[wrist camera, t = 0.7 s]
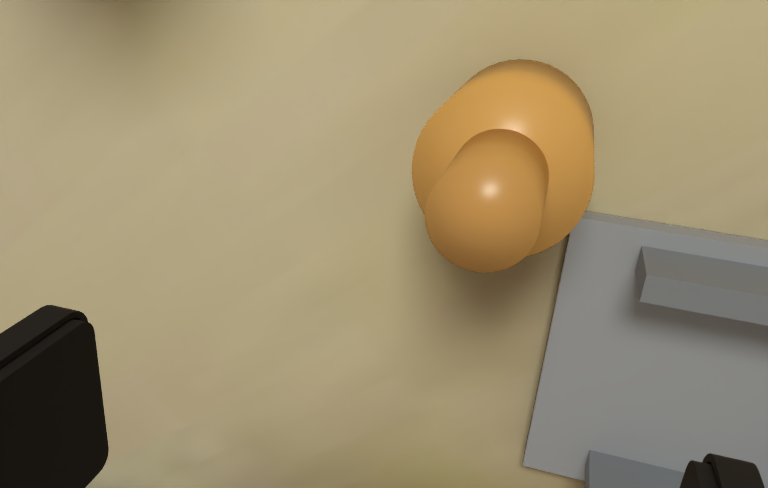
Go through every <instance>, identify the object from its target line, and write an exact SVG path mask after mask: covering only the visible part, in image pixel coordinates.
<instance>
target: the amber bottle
mask: <svg viewBox="0 0 768 488" xmlns="http://www.w3.org/2000/svg"><path fill="white" fill-rule="evenodd" d="M412 180H413V187H414V191H415V195H416V198H417V200H418V203H419V206H420V208H421V209H422V211H423V213H424V215H425V225H426V229H427V232H428V235H429V238H430V239H431V241H432V243H433V245H434V246H435V248H436V249H437V250H438V251H439V252H440V254H441V255H442V256H444V257H445V258H446V259H447V260H449V261H450V262H451V263H453V264H455V265H457V266H459V267H461V268H463V269H466V270H470V271H474V272H496V271H500V270H504V269H507V268H509V267H511V266H513V265H515V264H517V263H518V262H519V261H521V260H522V259H523V258H524V257H527V256H531V255H534V254H537V253H539V252H542V251H544V250H546V249H548V248H550V247H552V246H553V245H555V244H556V243H558V242H559V241H561V240H562V239H563V238H564V237H565V236H567V235H568V234H569V233H570V232H571V231H572V230H573V228H574V227H575V226H576V225H577V224H578V222H579V221H580V219H581V218H582V216H583V214H584V213H585V211H586V208H587V206H588V204H589V202H590V198H591V195H592V191H593V185H594V125H593V118H592V113H591V110H590V107H589V104H588V102H587V100H586V98H585V96H584V94H583V93H582V91H581V90H580V88H579V87H578V86H577V85H576V84H575V82H574V81H573V80H572V79H570V78H569V77H568V76H567V75H566V74H564V73H563V72H561V71H560V70H558V69H556V68H554V67H552V66H550V65H548V64H545V63H542V62H538V61H533V60H521V59H518V60H508V61H504V62H499V63H497V64H494V65H491V66H489V67H487V68H485V69H483V70H481V71H480V72H478V73H477V74H475V75H474V76H473V77H472V78H471V79H470V80H468V81H467V82H466V83H465V84H464V85H463V86H462V87H461V88H460V89H459V90H458V91H457V92H456V93H455V94H454V95H453V96H452V97H451V98H450V99H449V100H448V101H447V102H446V103H444V104H443V105H442V106H441V107H440V108H439V109H438V110H437V111H436V112H435V113H434V115H433V116H432V117H431V118H430V119H429V121H428V122H427V124H426V125H425V127H424V128H423V130H422V132H421V134H420V136H419V138H418V140H417V143H416V147H415V150H414V155H413V161H412Z"/></svg>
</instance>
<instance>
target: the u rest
mask: <svg viewBox="0 0 768 488" xmlns="http://www.w3.org/2000/svg"><path fill="white" fill-rule="evenodd" d="M709 453H712V454H716V455H720V456H725V457H729V458H734V459H738V460H743V461H747V462H752V463H754V464H755V465H756V466H757V468H758V470H759V473H760V476H761V478H762V481H763V484H764V487H765V488H768V240H761V239H755V238H749V237H743V236H737V235H730V234H724V233H718V232H712V231H706V230H700V229H693V228H687V227H681V226H675V225H669V224H663V223H656V222H650V221H644V220H638V219H632V218H625V217H619V216H613V215H607V214H601V213H595V212H588V211H585V213H584V214H583V216H582V218H581V219H580V221H579V222H578V224H577V225H576V226H575V227H574V228H573V230H572V231H571V232H570V233H569V237H568V242H567V247H566V252H565V257H564V262H563V267H562V271H561V276H560V281H559V286H558V291H557V296H556V301H555V306H554V311H553V316H552V320H551V325H550V330H549V335H548V340H547V345H546V350H545V355H544V360H543V364H542V369H541V374H540V379H539V384H538V389H537V394H536V399H535V404H534V409H533V413H532V418H531V423H530V428H529V433H528V438H527V443H526V448H525V453H524V460H523V466H526V467H530V468H534V469H538V470H542V471H546V472H550V473H554V474H558V475H562V476H566V477H570V478H574V479H578V480H582V481H585V488H680V485H681V482H682V479H683V476H684V473H685V470H686V467H687V465H688V463H689V462H690V461H691V460H694V461H698V462H702V461H703V459H704V457H705V456H706V455H707V454H709Z"/></svg>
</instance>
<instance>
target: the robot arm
mask: <svg viewBox="0 0 768 488" xmlns="http://www.w3.org/2000/svg"><path fill="white" fill-rule="evenodd" d="M107 457H108V440H107V432H106V424H105V415H104V407H103V399H102V390H101V382H100V374H99V366H98V357H97V349H96V341H95V332H94V328H93V326H92V325H91V324H90V323H88V320H87V317H86V316H85V315H84V313H82V312H80V311H76V310H71V309H67V308H62V307H58V306H53V305H46V306H44V307H42V308H40V309H38V310H37V311H35V312H33V313H32V314H30V315H29V316H27V317H26V318H24V319H23V320H21V321H19V322H18V323H16V324H15V325H13V326H12V327H10V328H8V329H7V330H5V331H4V332H2V333H1V334H0V488H85V487H86V486H87V485H88V484H89V483H90V482H91V481H92V480H93V479H94V478H95V477H96V475H97V474H98V473H99V472H100V471H101V470H102V468H103V466H104V465H105V463H106V460H107ZM680 488H765V487H764V484H763V481H762V478H761V476H760V473H759V470H758V468H757V466H756V465H755V464H754V463H752V462H747V461H743V460H738V459H734V458H729V457H725V456H720V455H716V454H712V453H709V454H707V455H706V456H705V457H704V459H703V461H702V462H698V461H694V460H691V461H690V462H689V463H688V465H687V467H686V470H685V473H684V476H683V479H682V482H681V485H680Z"/></svg>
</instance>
